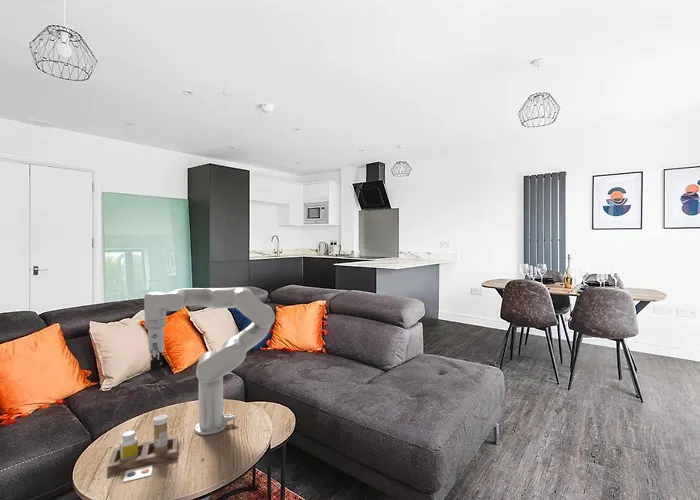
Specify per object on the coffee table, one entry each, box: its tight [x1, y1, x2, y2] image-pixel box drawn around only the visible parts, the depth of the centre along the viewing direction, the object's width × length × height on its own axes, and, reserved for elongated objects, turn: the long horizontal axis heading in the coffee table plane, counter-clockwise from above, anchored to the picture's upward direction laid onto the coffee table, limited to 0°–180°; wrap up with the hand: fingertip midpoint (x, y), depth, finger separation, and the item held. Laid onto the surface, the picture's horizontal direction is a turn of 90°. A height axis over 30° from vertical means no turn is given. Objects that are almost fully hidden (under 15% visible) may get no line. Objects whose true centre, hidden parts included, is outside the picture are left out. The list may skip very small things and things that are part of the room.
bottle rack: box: [106, 435, 179, 475], centre depth 130 cm, size 21×12×2 cm, turn 114°
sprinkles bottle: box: [153, 414, 169, 454], centre depth 132 cm, size 5×5×14 cm
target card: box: [122, 464, 154, 483], centre depth 121 cm, size 8×6×1 cm
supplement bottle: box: [119, 429, 139, 461], centre depth 128 cm, size 5×5×10 cm
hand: (156, 365), depth 144 cm, fingers open, 9 cm apart
